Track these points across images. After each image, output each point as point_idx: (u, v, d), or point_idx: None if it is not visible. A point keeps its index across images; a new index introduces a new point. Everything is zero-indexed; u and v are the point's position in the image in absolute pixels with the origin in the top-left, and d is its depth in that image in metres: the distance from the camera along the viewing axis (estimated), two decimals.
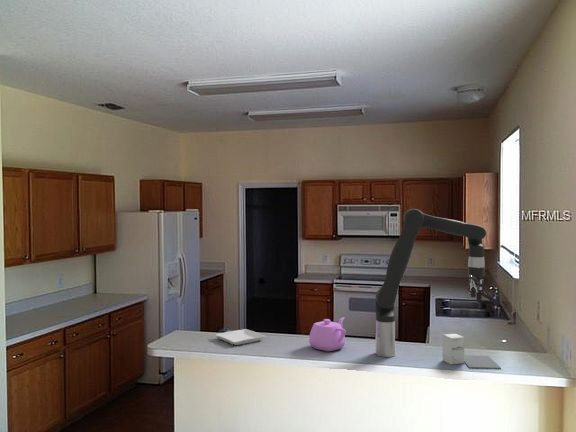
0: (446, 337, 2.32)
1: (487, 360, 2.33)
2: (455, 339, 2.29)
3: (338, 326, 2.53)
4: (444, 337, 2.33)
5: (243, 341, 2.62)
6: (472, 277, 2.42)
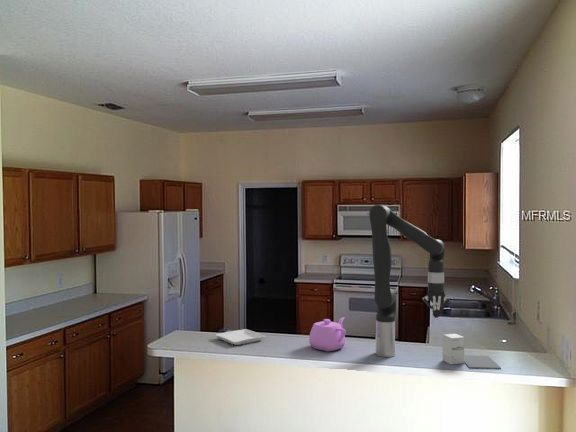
0: (446, 337, 2.32)
1: (487, 360, 2.33)
2: (455, 339, 2.29)
3: (338, 326, 2.53)
4: (444, 337, 2.33)
5: (243, 341, 2.62)
6: (430, 293, 2.32)
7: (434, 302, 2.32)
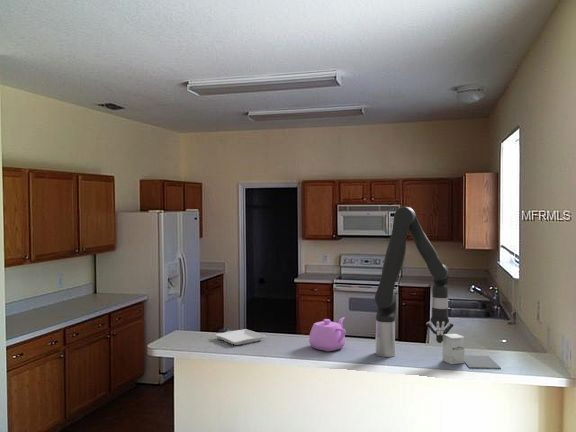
0: (446, 337, 2.32)
1: (487, 360, 2.33)
2: (455, 339, 2.29)
3: (338, 326, 2.53)
4: (444, 337, 2.33)
5: (243, 341, 2.62)
6: (434, 318, 2.32)
7: (438, 327, 2.32)
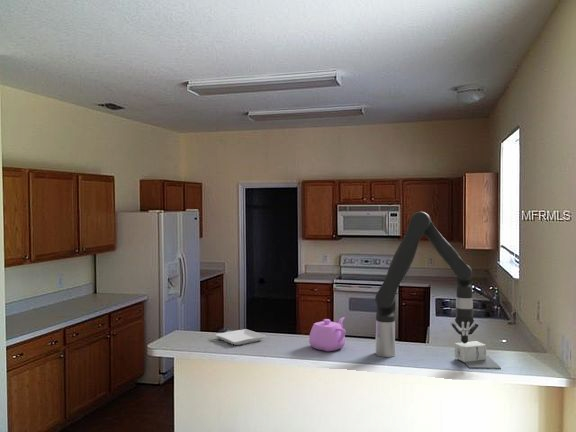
0: None
1: (487, 360, 2.33)
2: (485, 349, 2.33)
3: (338, 326, 2.53)
4: (477, 341, 2.38)
5: (243, 341, 2.62)
6: (459, 318, 2.31)
7: (463, 328, 2.30)
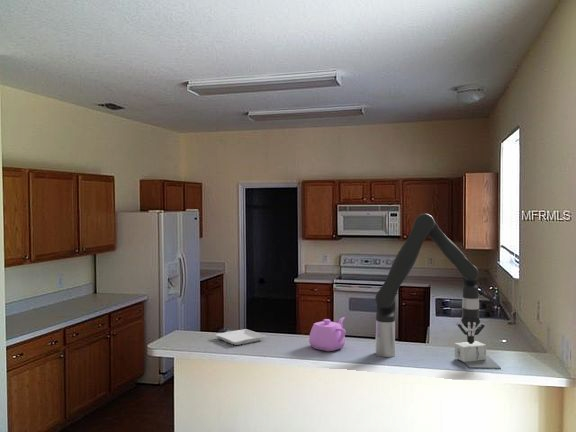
0: None
1: (487, 360, 2.33)
2: (485, 349, 2.33)
3: (338, 326, 2.53)
4: (477, 341, 2.38)
5: (243, 341, 2.62)
6: (465, 319, 2.31)
7: (469, 328, 2.30)
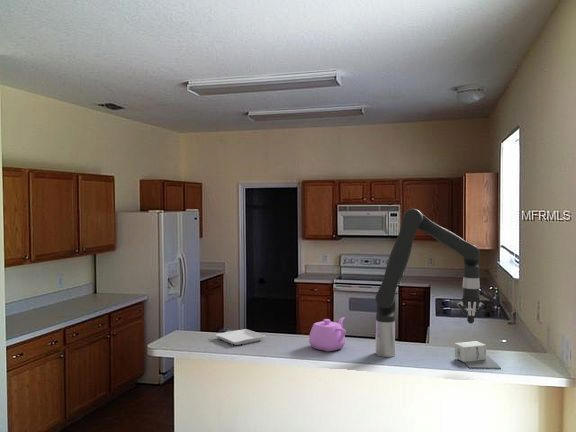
0: None
1: (487, 360, 2.33)
2: (485, 349, 2.33)
3: (338, 326, 2.53)
4: (477, 341, 2.38)
5: (243, 341, 2.62)
6: (465, 298, 2.31)
7: (469, 308, 2.30)
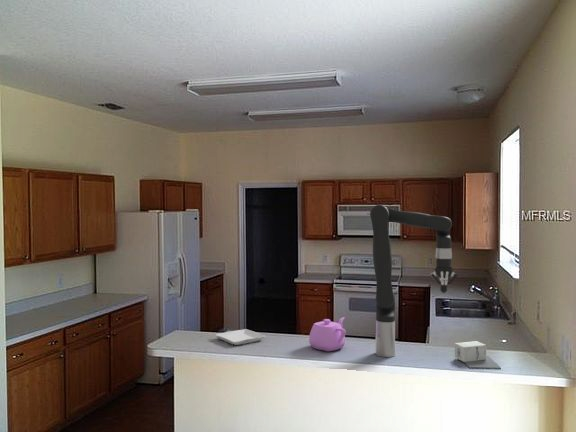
0: None
1: (487, 360, 2.33)
2: (485, 349, 2.33)
3: (338, 326, 2.53)
4: (477, 341, 2.38)
5: (243, 341, 2.62)
6: (438, 268, 2.38)
7: (442, 277, 2.38)
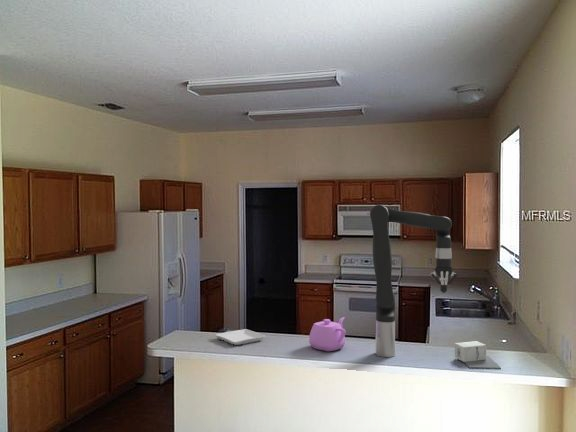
0: None
1: (487, 360, 2.33)
2: (485, 349, 2.33)
3: (338, 326, 2.53)
4: (477, 341, 2.38)
5: (243, 341, 2.62)
6: (438, 268, 2.38)
7: (442, 277, 2.38)
